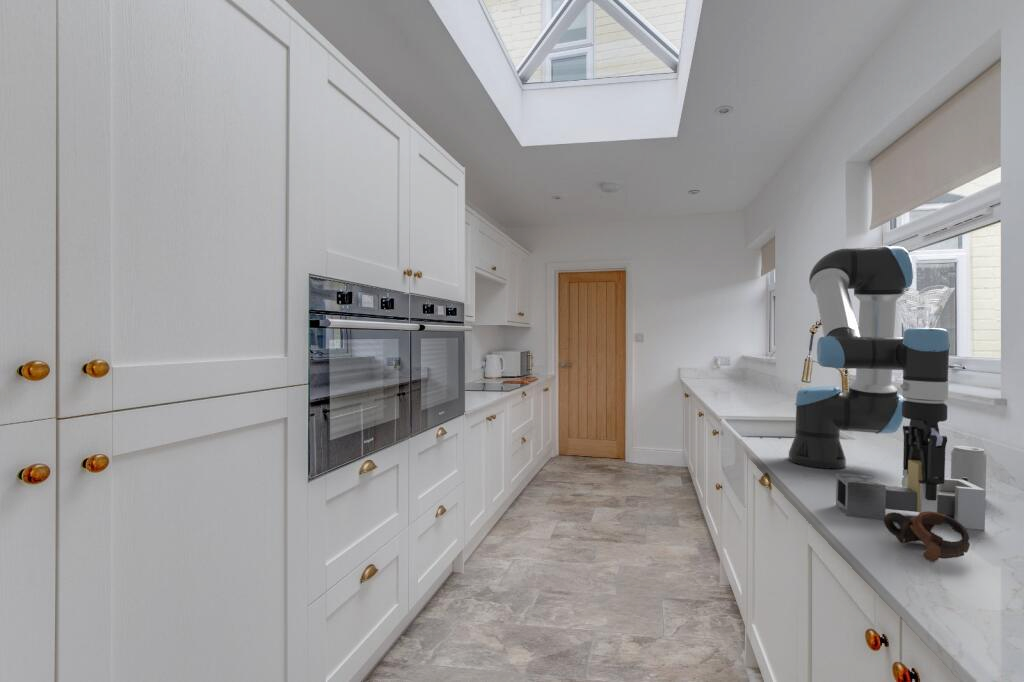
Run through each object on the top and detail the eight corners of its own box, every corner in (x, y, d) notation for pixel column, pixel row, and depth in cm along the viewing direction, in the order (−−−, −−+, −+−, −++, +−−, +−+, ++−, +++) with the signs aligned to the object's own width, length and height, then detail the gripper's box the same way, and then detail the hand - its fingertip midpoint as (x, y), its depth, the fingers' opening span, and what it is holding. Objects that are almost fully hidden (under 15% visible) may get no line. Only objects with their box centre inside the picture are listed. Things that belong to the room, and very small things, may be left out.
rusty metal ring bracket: (958, 551, 93) (976, 520, 89) (955, 591, 87) (974, 559, 83) (879, 520, 100) (893, 490, 95) (872, 554, 94) (885, 524, 89)
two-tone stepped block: (863, 501, 114) (864, 456, 114) (955, 510, 109) (956, 463, 109) (871, 507, 109) (872, 461, 109) (967, 517, 105) (968, 468, 104)
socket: (937, 514, 111) (938, 477, 111) (962, 516, 110) (963, 479, 110) (957, 527, 104) (958, 487, 104) (984, 530, 102) (985, 490, 102)
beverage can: (989, 502, 120) (990, 451, 120) (953, 498, 123) (955, 448, 123) (981, 495, 126) (982, 446, 126) (947, 491, 129) (948, 443, 129)
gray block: (835, 505, 116) (836, 473, 116) (871, 508, 114) (872, 476, 114) (847, 515, 109) (847, 481, 109) (885, 519, 107) (886, 485, 107)
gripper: (886, 395, 118) (884, 496, 118) (923, 404, 101) (921, 522, 101) (924, 397, 116) (922, 499, 116) (969, 407, 99) (966, 527, 99)
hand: (921, 510), depth 109 cm, fingers closed on two-tone stepped block, 4 cm apart
